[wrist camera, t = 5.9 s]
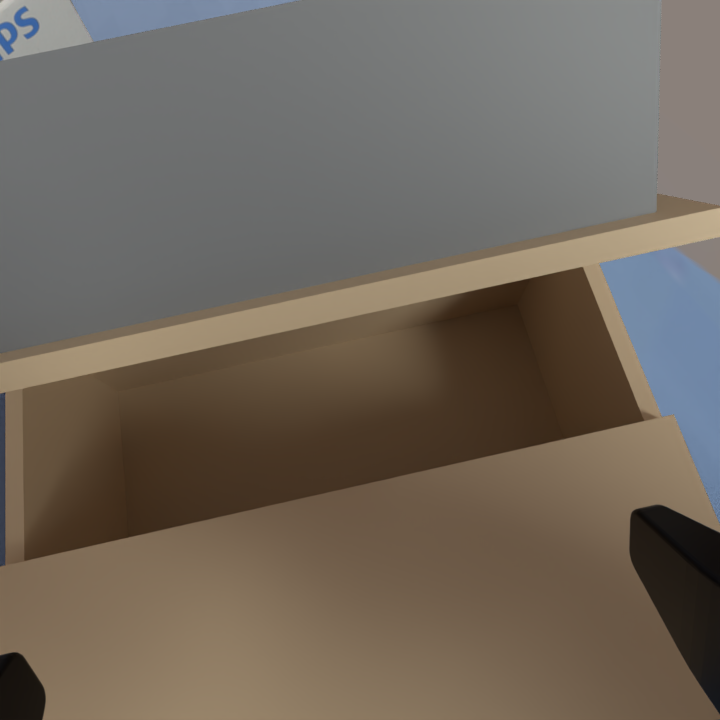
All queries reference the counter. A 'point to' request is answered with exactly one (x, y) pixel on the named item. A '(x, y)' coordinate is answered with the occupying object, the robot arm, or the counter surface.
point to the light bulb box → (39, 27)
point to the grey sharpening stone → (319, 170)
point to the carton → (354, 522)
